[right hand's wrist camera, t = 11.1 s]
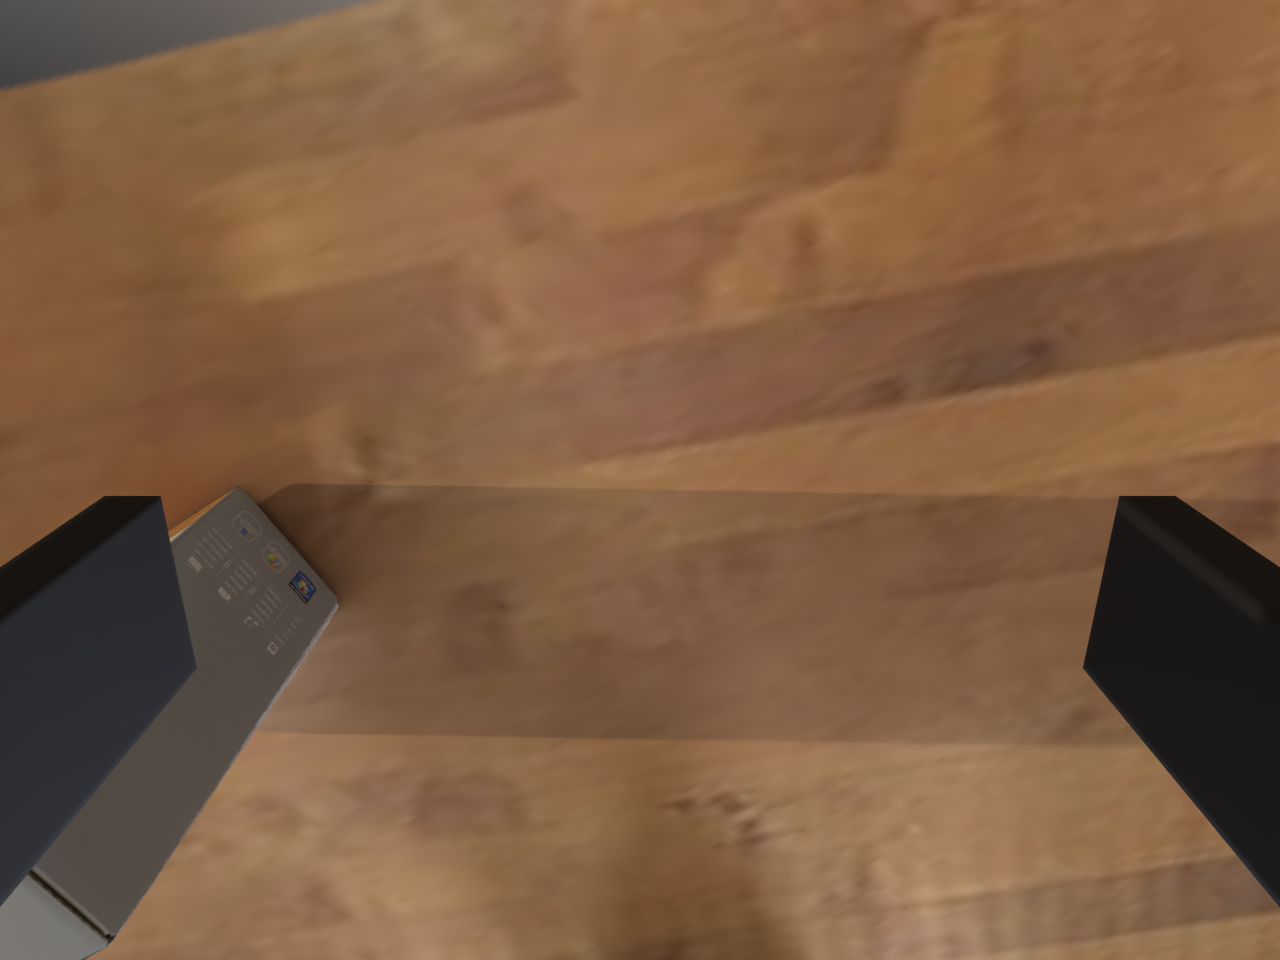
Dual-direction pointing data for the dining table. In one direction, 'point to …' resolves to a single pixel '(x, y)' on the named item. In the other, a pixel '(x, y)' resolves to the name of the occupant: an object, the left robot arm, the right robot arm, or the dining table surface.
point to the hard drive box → (177, 732)
